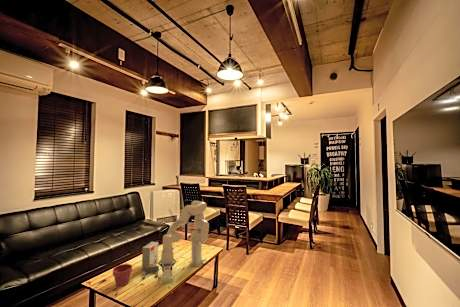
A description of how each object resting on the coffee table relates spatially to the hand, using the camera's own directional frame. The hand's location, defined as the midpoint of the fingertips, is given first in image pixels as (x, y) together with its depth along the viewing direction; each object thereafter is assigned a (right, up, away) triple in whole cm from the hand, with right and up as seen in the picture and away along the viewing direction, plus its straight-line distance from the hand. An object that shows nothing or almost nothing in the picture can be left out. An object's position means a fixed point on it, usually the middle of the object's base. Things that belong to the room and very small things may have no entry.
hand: (167, 271), depth 185 cm
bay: (-16, -7, +7) cm, 18 cm away
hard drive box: (-22, -7, +22) cm, 33 cm away
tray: (0, -6, 0) cm, 6 cm away
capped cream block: (0, -2, 0) cm, 2 cm away
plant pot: (-34, -7, -7) cm, 36 cm away
